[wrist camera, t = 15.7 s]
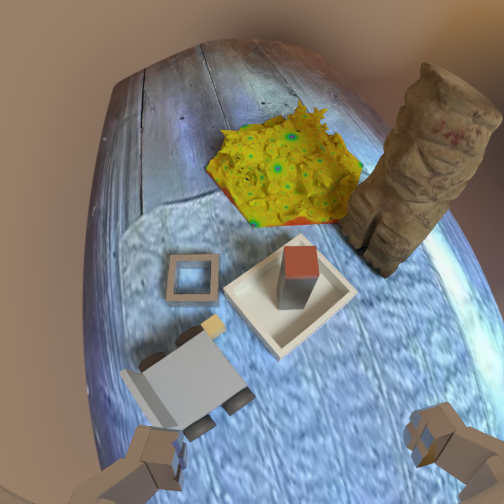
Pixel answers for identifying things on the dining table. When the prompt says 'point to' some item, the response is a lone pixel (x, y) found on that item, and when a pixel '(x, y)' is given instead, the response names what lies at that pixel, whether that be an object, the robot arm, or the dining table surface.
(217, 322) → the block
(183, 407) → the trolley
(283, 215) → the decorative piece
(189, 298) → the bracket
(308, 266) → the pin
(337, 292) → the tray
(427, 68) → the sculpture
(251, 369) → the dining table surface
